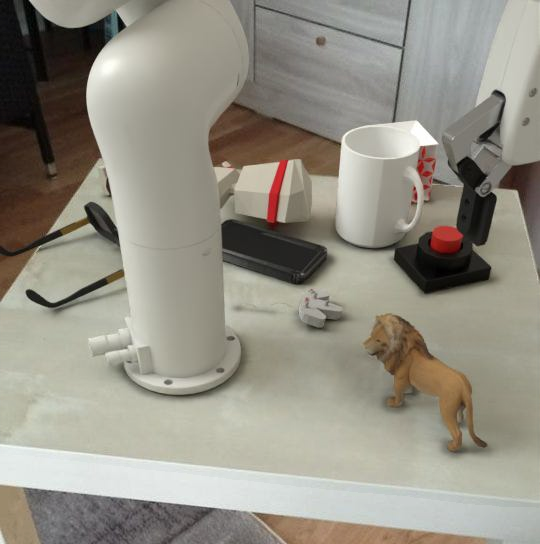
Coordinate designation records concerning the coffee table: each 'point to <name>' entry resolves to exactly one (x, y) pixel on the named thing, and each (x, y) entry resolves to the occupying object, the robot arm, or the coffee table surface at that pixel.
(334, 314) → the game controller
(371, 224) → the mug
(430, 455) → the coffee table surface
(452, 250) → the button
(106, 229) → the sunglasses
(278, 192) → the toy
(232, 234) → the phone
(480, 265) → the button box
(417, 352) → the lion figurine
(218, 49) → the robot arm
